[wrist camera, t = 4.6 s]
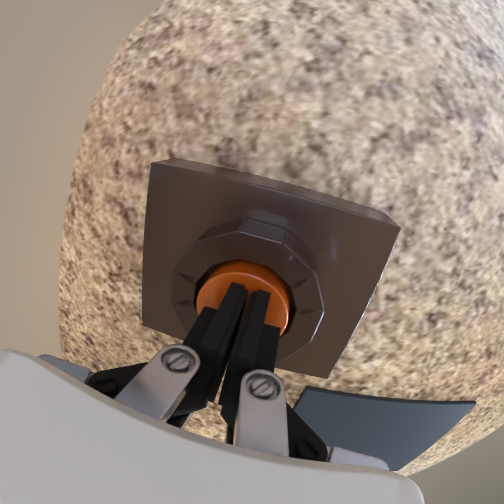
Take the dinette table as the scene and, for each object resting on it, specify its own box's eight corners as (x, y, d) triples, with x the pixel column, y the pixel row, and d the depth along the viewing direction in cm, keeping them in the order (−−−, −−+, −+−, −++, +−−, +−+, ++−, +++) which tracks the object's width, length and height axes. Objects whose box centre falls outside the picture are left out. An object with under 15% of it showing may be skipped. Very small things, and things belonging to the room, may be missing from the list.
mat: (258, 458, 26) (258, 461, 26) (306, 385, 19) (306, 389, 19) (397, 468, 24) (397, 470, 24) (475, 400, 18) (476, 403, 18)
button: (205, 310, 14) (192, 334, 12) (216, 242, 13) (201, 260, 11) (278, 332, 14) (273, 358, 12) (301, 265, 12) (300, 288, 11)
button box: (160, 303, 19) (128, 342, 14) (174, 157, 14) (129, 166, 10) (326, 350, 18) (327, 401, 14) (385, 213, 14) (415, 242, 10)
